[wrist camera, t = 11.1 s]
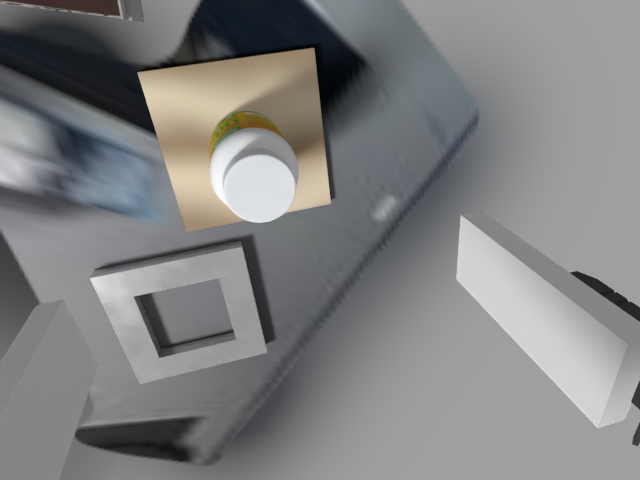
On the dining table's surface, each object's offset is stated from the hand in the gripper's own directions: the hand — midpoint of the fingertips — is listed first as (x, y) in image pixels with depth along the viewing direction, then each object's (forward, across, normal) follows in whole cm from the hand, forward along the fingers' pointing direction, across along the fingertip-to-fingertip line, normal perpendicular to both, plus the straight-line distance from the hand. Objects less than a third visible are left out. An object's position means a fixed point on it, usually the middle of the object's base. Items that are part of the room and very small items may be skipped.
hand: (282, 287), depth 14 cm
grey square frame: (+20, -8, -14) cm, 26 cm away
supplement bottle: (+20, 0, 0) cm, 20 cm away
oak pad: (+20, 0, 0) cm, 20 cm away
